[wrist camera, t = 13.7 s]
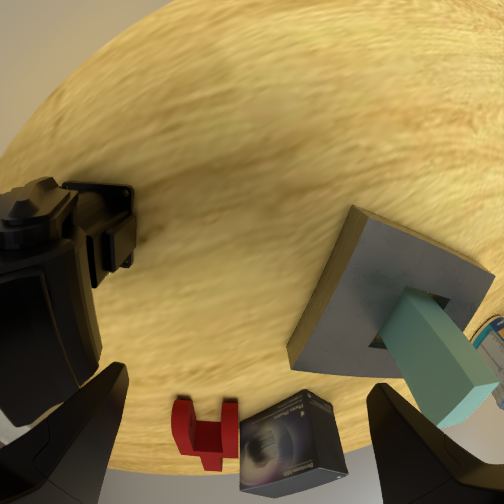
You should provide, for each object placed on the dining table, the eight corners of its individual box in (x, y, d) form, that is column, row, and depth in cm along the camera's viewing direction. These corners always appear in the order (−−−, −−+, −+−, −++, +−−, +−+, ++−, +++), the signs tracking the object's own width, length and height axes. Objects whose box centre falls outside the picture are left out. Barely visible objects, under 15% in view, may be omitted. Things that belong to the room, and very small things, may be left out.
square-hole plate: (286, 346, 25) (290, 369, 22) (352, 204, 19) (368, 216, 17) (417, 361, 27) (427, 378, 25) (479, 263, 22) (495, 276, 19)
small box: (303, 386, 27) (320, 468, 18) (333, 404, 29) (352, 474, 20) (236, 421, 30) (236, 492, 21) (270, 435, 32) (275, 499, 23)
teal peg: (370, 319, 24) (430, 431, 12) (392, 280, 22) (474, 386, 10) (402, 325, 24) (462, 422, 13) (423, 289, 23) (500, 381, 11)
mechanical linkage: (175, 391, 28) (168, 426, 23) (238, 394, 28) (238, 431, 23) (192, 447, 34) (189, 473, 30) (238, 449, 34) (238, 475, 30)
